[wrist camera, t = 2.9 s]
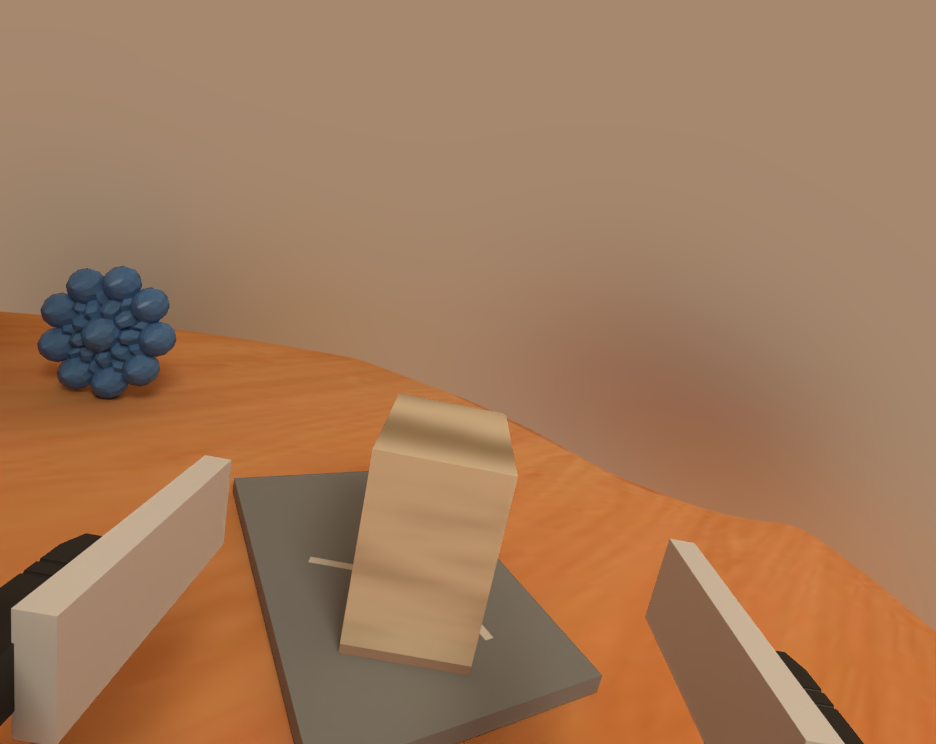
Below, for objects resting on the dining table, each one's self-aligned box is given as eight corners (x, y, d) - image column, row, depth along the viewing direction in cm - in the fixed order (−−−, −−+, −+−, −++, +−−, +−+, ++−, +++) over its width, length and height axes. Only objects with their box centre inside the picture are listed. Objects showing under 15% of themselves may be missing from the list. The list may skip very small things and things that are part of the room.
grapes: (195, 397, 51) (205, 274, 49) (153, 419, 45) (161, 279, 42) (76, 373, 51) (79, 248, 48) (16, 392, 45) (16, 249, 42)
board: (233, 491, 37) (234, 478, 36) (415, 479, 44) (417, 468, 44) (307, 798, 19) (311, 776, 18) (596, 691, 26) (601, 675, 26)
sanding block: (371, 551, 32) (399, 393, 29) (469, 569, 32) (505, 414, 29) (338, 652, 24) (372, 449, 21) (469, 675, 24) (517, 476, 22)
